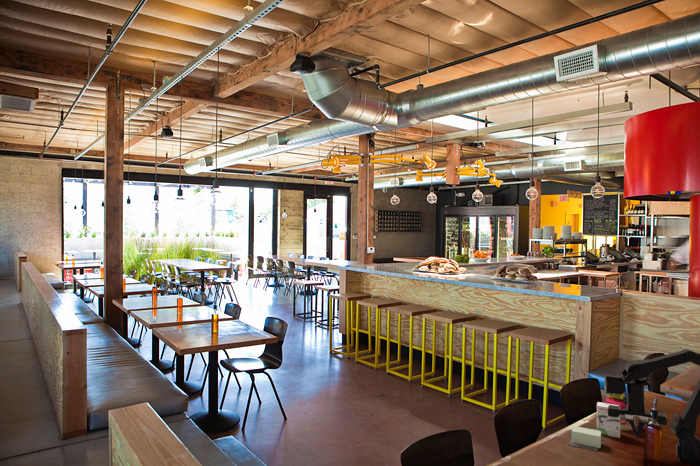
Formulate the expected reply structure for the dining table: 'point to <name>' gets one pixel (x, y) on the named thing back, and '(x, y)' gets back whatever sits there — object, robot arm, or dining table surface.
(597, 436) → the block
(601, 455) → the dining table surface
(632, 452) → the dining table surface
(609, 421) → the ink box
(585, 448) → the bar mat
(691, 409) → the robot arm
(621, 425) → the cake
